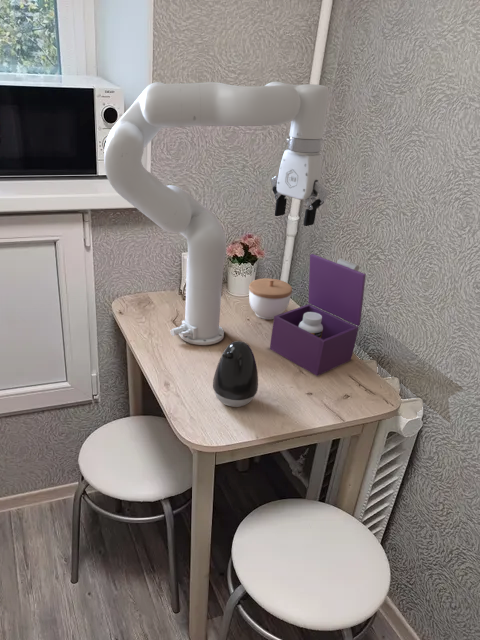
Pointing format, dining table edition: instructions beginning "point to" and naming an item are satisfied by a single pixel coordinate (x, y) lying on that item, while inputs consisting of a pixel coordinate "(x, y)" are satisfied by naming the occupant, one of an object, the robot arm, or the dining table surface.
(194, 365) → the dining table surface
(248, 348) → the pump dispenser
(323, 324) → the box
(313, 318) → the pill bottle
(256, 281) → the lidded bowl
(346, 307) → the file box lid
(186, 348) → the dining table surface
